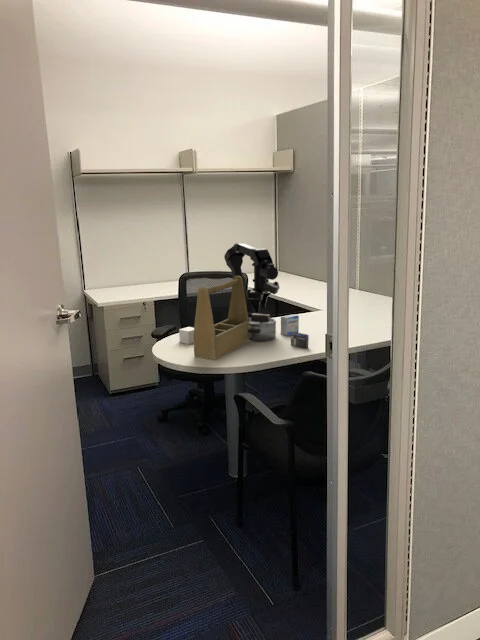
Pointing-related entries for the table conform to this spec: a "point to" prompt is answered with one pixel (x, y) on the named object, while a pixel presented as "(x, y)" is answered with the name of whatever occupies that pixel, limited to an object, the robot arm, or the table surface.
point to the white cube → (187, 335)
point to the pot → (262, 331)
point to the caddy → (225, 333)
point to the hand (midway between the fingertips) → (260, 310)
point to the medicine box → (289, 324)
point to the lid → (260, 318)
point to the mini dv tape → (299, 340)
